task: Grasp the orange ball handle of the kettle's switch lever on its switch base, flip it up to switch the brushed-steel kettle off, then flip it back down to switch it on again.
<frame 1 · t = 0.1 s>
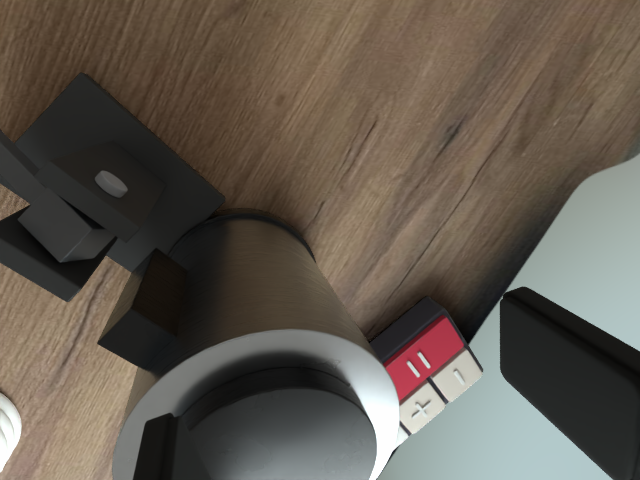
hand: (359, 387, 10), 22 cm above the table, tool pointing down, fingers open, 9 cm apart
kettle: (241, 280, 32), on the table
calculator: (394, 366, 40), on the table
switch base: (120, 185, 27), on the table
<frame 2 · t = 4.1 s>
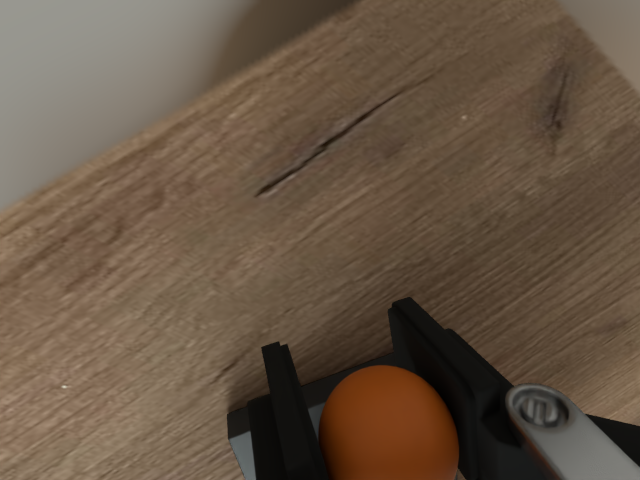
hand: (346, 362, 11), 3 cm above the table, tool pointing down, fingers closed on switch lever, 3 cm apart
switch base: (357, 469, 17), on the table
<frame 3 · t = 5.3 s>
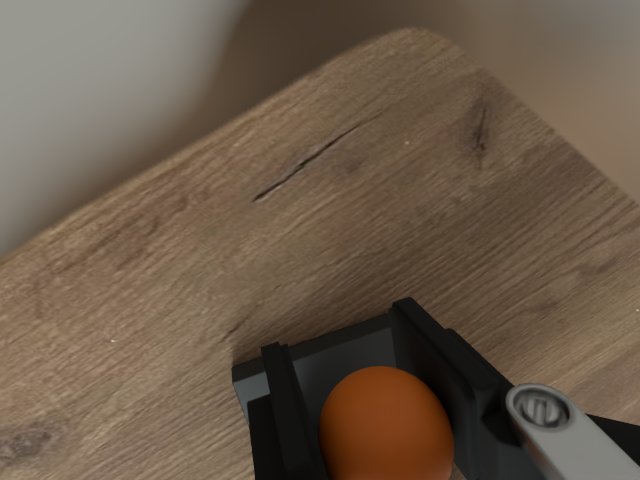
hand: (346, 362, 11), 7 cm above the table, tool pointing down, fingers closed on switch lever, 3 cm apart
switch base: (335, 419, 22), on the table
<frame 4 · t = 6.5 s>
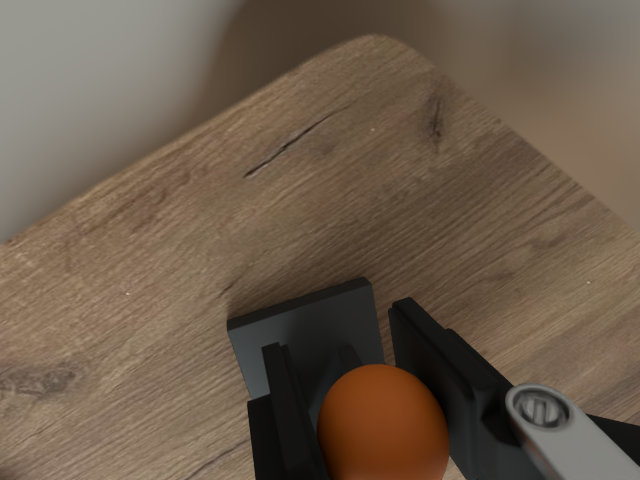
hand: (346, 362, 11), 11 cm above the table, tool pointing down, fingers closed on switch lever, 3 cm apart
switch base: (317, 372, 25), on the table
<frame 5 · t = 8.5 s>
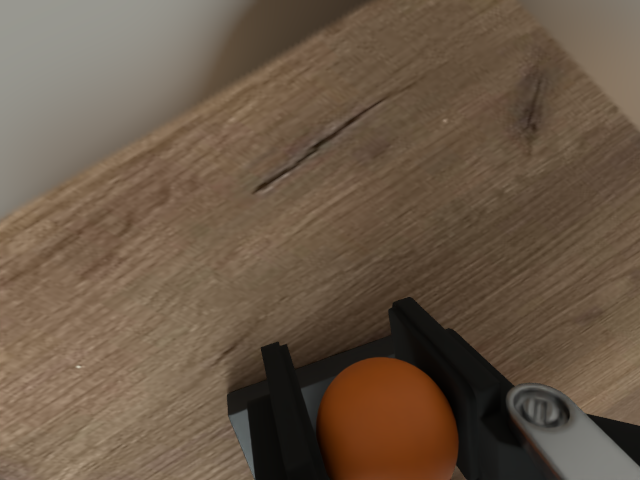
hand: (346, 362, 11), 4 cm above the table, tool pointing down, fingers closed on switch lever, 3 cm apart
switch base: (348, 448, 18), on the table
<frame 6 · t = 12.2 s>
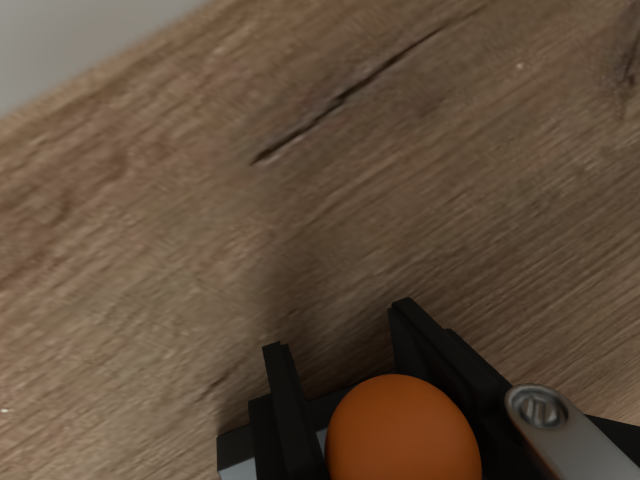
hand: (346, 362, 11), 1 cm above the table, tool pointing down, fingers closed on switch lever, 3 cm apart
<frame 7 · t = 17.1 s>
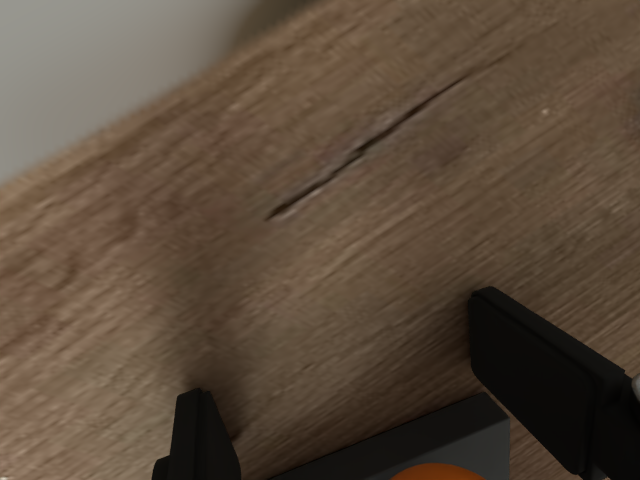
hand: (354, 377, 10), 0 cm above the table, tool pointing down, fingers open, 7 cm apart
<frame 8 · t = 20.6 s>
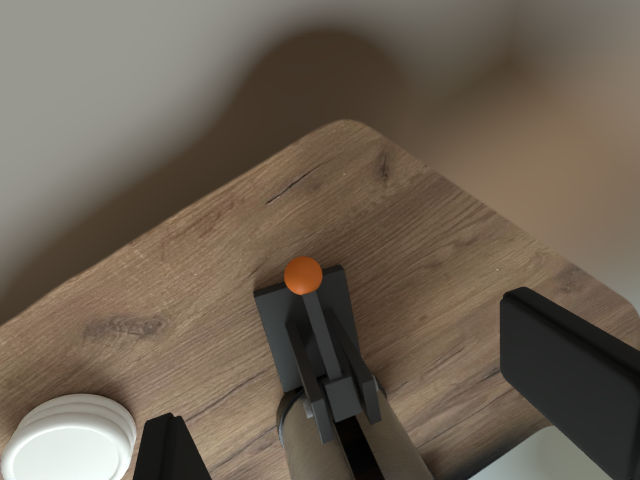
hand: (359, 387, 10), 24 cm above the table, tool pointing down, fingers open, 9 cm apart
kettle: (331, 409, 43), on the table
switch base: (310, 327, 38), on the table
switch lever: (321, 333, 30), point 7 cm above the table, hinge at -30.5°
white jar lid: (81, 431, 35), on the table
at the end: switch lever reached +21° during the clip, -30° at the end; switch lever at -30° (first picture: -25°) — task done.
